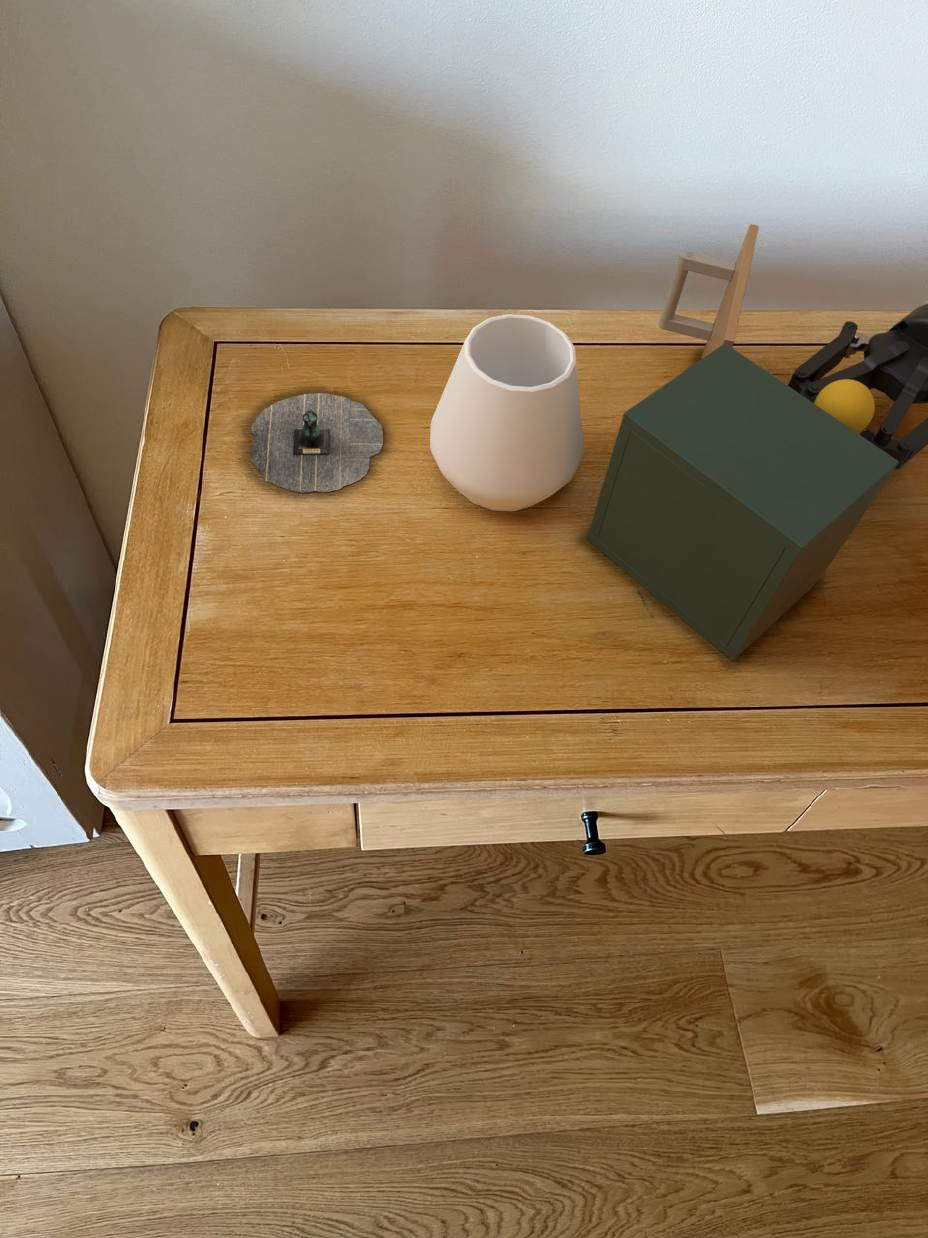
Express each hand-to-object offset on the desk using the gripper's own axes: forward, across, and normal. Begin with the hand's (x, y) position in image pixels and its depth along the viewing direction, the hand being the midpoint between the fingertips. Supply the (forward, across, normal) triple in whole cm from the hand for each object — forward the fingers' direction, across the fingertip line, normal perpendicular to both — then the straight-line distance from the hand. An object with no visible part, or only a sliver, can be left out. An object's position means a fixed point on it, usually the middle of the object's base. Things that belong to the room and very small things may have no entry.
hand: (793, 462), depth 75 cm
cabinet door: (-6, +15, -8) cm, 18 cm away
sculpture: (+24, +32, -9) cm, 41 cm away
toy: (-5, 0, -6) cm, 8 cm away
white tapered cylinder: (+13, +19, -9) cm, 25 cm away
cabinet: (+7, +1, -8) cm, 11 cm away
